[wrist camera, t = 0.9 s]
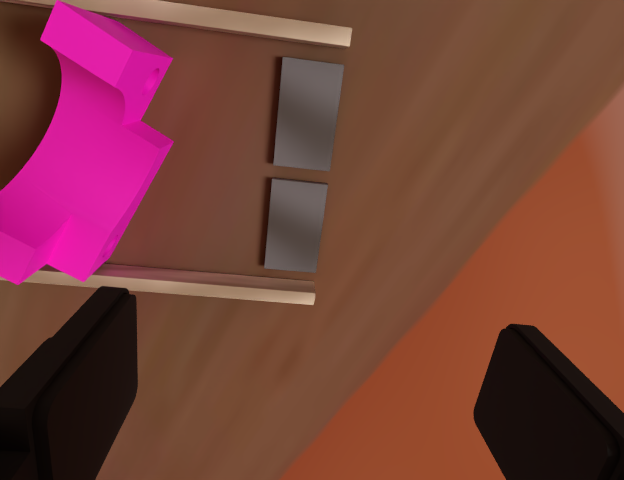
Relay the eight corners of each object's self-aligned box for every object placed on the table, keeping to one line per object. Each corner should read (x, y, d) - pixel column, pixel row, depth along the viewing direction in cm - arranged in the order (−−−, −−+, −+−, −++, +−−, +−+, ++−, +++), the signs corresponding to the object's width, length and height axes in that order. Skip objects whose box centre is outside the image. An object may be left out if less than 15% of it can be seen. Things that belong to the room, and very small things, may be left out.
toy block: (111, 255, 31) (60, 305, 24) (30, 212, 30) (-50, 252, 23) (207, 81, 27) (179, 81, 20) (119, 22, 26) (56, -1, 19)
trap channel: (-205, -47, 24) (-298, -71, 20) (347, 32, 27) (357, 23, 23) (-123, 256, 30) (-181, 280, 27) (312, 292, 33) (315, 319, 29)
